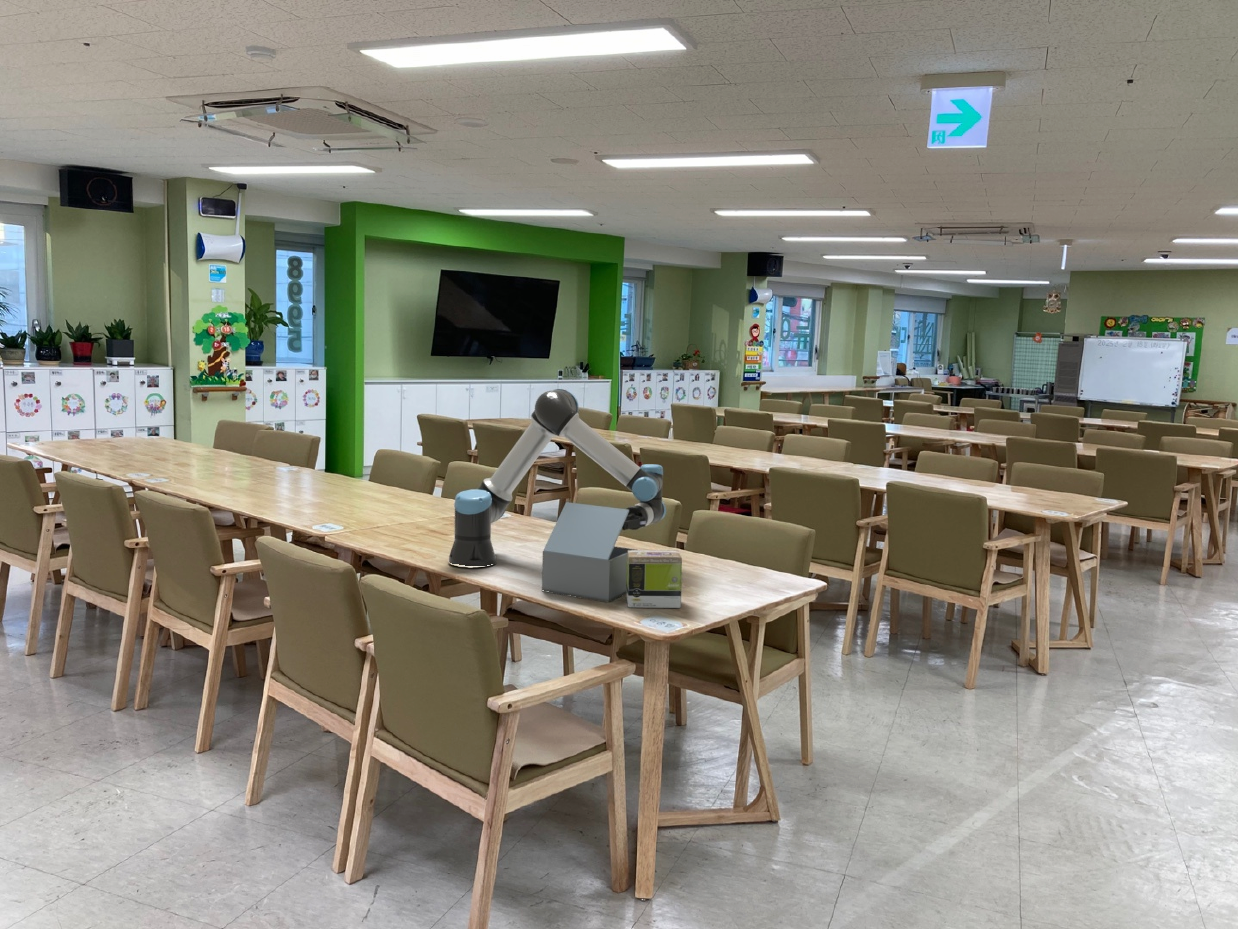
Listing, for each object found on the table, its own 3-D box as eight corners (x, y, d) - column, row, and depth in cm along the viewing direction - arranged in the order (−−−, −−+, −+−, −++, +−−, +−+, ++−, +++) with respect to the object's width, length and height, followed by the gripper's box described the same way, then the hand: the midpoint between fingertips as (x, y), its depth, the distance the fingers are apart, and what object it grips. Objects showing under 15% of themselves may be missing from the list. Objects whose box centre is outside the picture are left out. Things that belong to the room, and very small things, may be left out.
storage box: (541, 591, 277) (542, 551, 276) (572, 578, 293) (573, 540, 292) (608, 602, 268) (609, 561, 266) (636, 588, 283) (637, 549, 282)
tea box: (677, 599, 273) (679, 549, 271) (680, 609, 263) (683, 557, 261) (625, 598, 273) (627, 548, 271) (626, 608, 263) (628, 556, 261)
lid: (544, 551, 276) (543, 550, 275) (566, 503, 285) (566, 502, 285) (608, 560, 266) (607, 559, 266) (629, 510, 276) (628, 509, 275)
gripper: (655, 530, 300) (622, 543, 279) (618, 525, 306) (583, 538, 285) (656, 507, 299) (623, 518, 278) (619, 502, 305) (584, 513, 284)
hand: (603, 528), depth 282 cm, fingers closed
